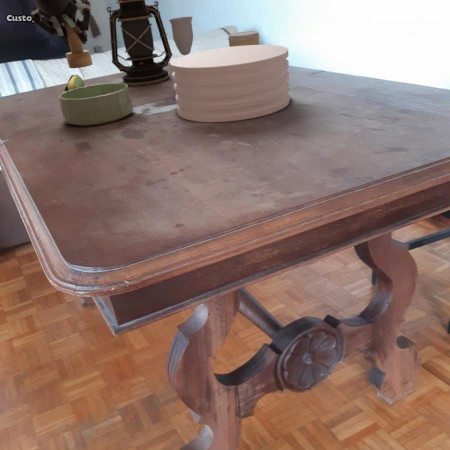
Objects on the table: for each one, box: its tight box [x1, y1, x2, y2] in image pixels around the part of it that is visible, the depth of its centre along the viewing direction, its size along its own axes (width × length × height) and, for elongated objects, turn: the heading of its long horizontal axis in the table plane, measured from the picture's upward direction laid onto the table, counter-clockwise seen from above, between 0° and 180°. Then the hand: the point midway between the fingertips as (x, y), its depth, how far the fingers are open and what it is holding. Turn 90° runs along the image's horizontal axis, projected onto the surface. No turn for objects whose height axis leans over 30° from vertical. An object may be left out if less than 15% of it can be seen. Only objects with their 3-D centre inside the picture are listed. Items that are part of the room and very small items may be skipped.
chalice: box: [168, 16, 194, 56], centre depth 139 cm, size 7×7×18 cm
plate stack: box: [169, 44, 290, 123], centre depth 115 cm, size 28×28×12 cm
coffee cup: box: [227, 30, 260, 47], centre depth 143 cm, size 9×9×12 cm
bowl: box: [57, 82, 134, 127], centre depth 122 cm, size 18×18×6 cm
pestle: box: [63, 22, 93, 69], centre depth 110 cm, size 6×6×11 cm
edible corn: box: [63, 74, 85, 92], centre depth 152 cm, size 5×20×5 cm, turn 9°
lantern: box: [106, 0, 174, 87], centre depth 151 cm, size 20×16×30 cm
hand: (77, 41), depth 112 cm, fingers closed on pestle, 3 cm apart
